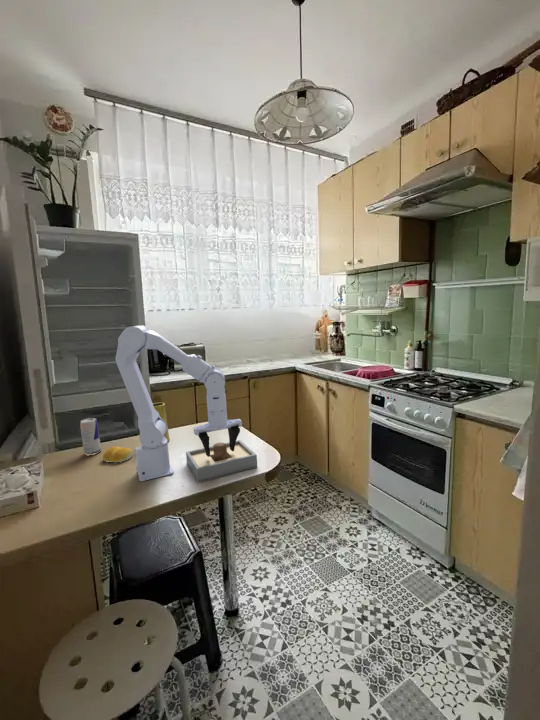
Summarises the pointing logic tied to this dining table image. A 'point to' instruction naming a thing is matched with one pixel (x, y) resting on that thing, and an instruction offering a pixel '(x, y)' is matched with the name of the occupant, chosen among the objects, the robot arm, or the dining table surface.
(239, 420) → the robot arm
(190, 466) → the socket box
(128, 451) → the bread roll
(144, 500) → the dining table surface
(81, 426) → the energy drink
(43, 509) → the dining table surface
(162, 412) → the vase
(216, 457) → the walnut peg
